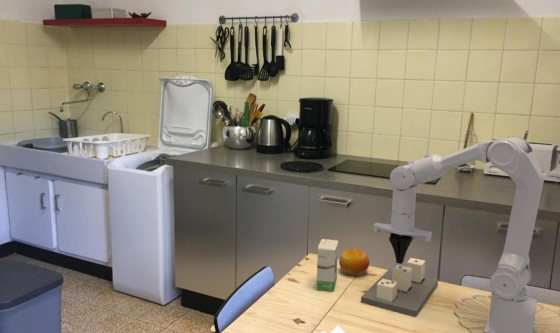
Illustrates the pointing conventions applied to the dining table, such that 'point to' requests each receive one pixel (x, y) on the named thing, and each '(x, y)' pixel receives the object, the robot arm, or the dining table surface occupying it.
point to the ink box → (327, 264)
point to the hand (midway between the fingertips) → (399, 262)
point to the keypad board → (403, 296)
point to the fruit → (354, 262)
